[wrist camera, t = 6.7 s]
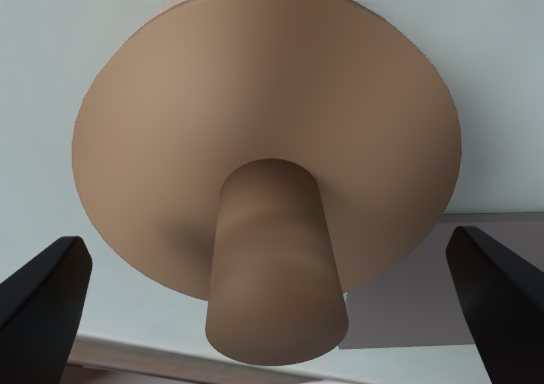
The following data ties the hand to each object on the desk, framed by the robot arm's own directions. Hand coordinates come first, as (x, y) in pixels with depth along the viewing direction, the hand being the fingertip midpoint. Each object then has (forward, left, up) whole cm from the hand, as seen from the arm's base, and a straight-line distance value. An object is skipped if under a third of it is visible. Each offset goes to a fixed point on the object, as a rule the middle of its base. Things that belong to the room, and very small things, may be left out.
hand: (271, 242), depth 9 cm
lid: (0, 0, -3) cm, 3 cm away
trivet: (-11, +12, -7) cm, 18 cm away
